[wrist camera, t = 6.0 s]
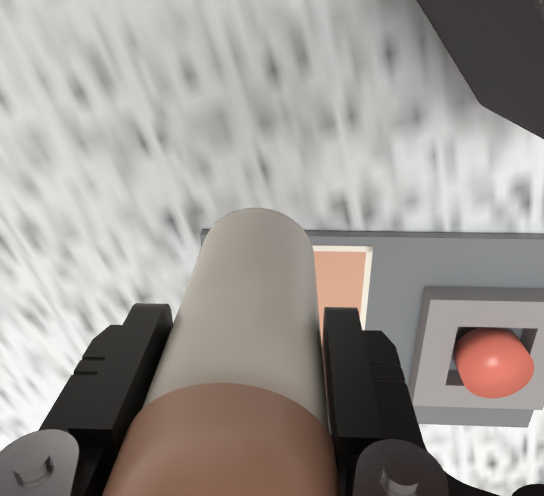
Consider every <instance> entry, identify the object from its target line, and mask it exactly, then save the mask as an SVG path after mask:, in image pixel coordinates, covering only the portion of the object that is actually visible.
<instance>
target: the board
mask: <svg viewBox="0 0 544 496" xmlns="http://www.w3.org/2000/svg"><path fill="white" fill-rule="evenodd" d="M209 231H210V229H203V230H202V232H201V247H202V245H203V242H204V240H205V238H206V235H207V234H208V232H209ZM305 233H306V234H307V236H308V237H309V239H310V241H311V244H312V247H313V252H314V261H315V272H316V284H317V296H318V308H319V320H320V332H321V343H322V338H323V318H324V308H325V307H357V308H358V312H359V317H360V322H361V326H362V330H381V331H382V332H383V333H384V334H385V335H386V336H387V337H388V338H389V339H390V341H391V342H392V343H393V344H394V345H395V346H396V349H397V353H398V356H399V360H400V363H401V368H402V370H403V373H404V377H405V383H406V384H407V387H408V391H409V394H410V397H411V401H412V404H413V408H414V411H415V415H416V418H417V422H418V424H441V425H470V426H499V427H528V425H529V422H530V419H531V416H532V413H533V410H542V409H543V407H544V234H509V233H435V232H362V231H305ZM479 327H498V328H507V329H509V330H511V331H512V332H514V333H515V334H516V335H517V337H518V338H519V339H520V341H521V343H522V344H523V346H524V347H525V349H526V350H527V352H528V353H529V355H530V356H531V358H532V360H533V362H534V373H533V376H532V378H531V380H530V381H529V382H528V384H527V385H526V386H525V387H523V388H522V389H521V390H519V391H518V392H516V393H514V394H512V395H509V396H506V397H502V398H483V397H479V396H477V395H474V394H473V393H471V392H470V391H468V389H467V388H466V387H465V386H464V384H463V381H462V379H461V377H460V374H459V372H458V370H457V367H456V365H455V363H454V360H453V351H454V348H455V345H456V344H457V342H458V341H459V340H460V339H461V338H462V337H463V336H464V335H465V334H467V333H468V332H470V331H472V330H474V329H476V328H479Z"/></svg>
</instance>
